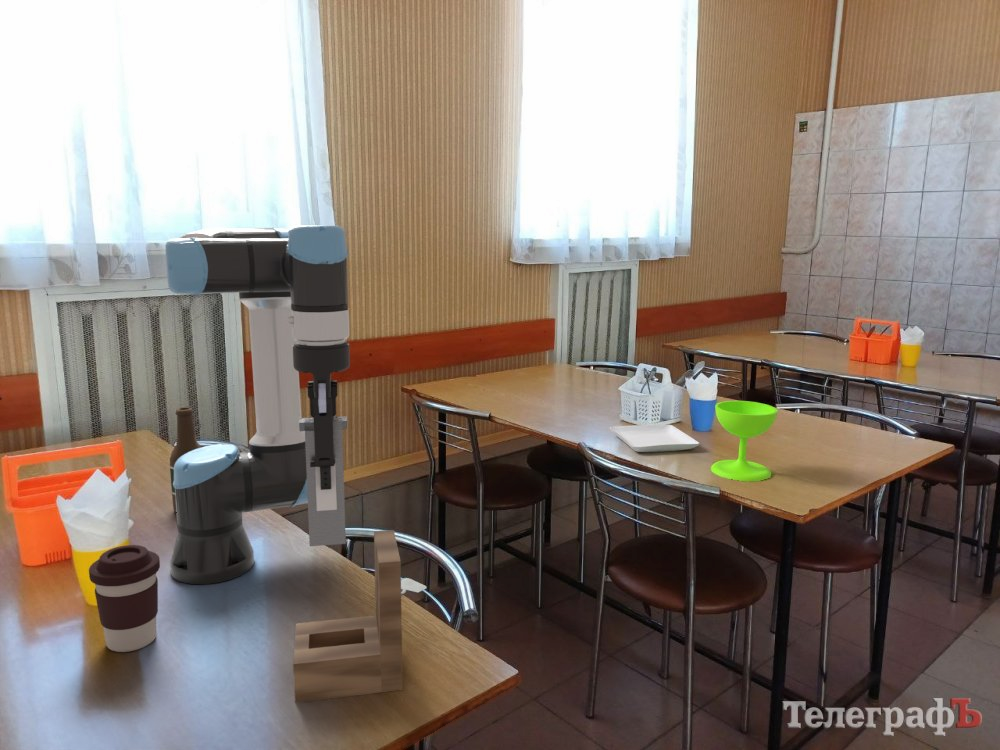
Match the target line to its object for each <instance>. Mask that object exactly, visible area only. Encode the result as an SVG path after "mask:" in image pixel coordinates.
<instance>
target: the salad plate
mask: <svg viewBox="0 0 1000 750" xmlns="http://www.w3.org/2000/svg"><path fill="white" fill-rule="evenodd" d="M609 429H610V431H611V432H612V433H613V434H614V436H616V437H618V438H619V439H620V440H621V441H622V442H623V443H625V444H627V446H629V447H630V448H631V449H632V450H633V451H635V452H637V453H658V452H659V453H660V452H671V451H672V452H676V451H685V450H686V451H687V450H691V449H694V448H696V447H698V446H699V445H700V442H699V441H697V440H696V439H694V438H693V437H692V436H690V435H688V434H687V433H685V432H683V431H682V430H681V429H679V428H677V427H675V426H674V425H672V424H639V425H636V424H635V425H621V426H619V425H618V426H616V425H615V426H609Z"/></svg>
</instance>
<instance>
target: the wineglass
mask: <svg viewBox="0 0 1000 750" xmlns="http://www.w3.org/2000/svg"><path fill="white" fill-rule="evenodd" d="M714 408H715V415H716V418H717V421H718V422H719V423H720V425H721V427H723V429H724V430H725V431H727V432H728V434H731V435H733V436H736V437H739V445H738V458H737V459H722V460H719V461H716V462H714V463H713V464H712V465H711V466H710V471H711V472H712V473H713V474H714V475H716V476H719V477H721V478H723V479H728V480H731V479H733V481H737V480H739V482H749V481H754V482H761V481H760V480H763V481H765V480H764V479H767V478H769V477H770V476H771V474H772V471H771V470H770V469H769V467H766V466H765V465H763V464H761V463H757V462H755V461H754V462H753V461H750V460H747V459H746V458H747V445H748V438H755V437H759V436H760V435H762V434H765V433H766V432H767V431H768V430H769V429H770V428H771V427H772V426H773V424H774V423H775V421H776V419H777V417H778V416H777V415H778V409H777V407H775V406H772V405H770V404H765V403H761V402H757V401H749V400H748V401H747V400H726V401H725V400H724V401H721V402H717V403H716V404H715V407H714ZM771 477H772V476H771ZM771 477H770V478H771ZM770 478H769V479H770ZM767 480H768V479H767Z"/></svg>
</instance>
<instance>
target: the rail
mask: <svg viewBox="0 0 1000 750" xmlns="http://www.w3.org/2000/svg"><path fill="white" fill-rule="evenodd" d="M299 430H300V431H305V447H306V471H307V496H308V503H307V514H308V515H307V518H308V520H307V521H308V539H309V542H308V543H309V547H319V546H320V547H321V546H332V545H346V544H347V541H346V540H347V539H346V538H347V536H346V508H345V507H346V505H345V503H346V502H345V477H344V475H345V474H344V473H345V472H344V471H345V470H344V444H343V443H344V442H343V430H348V416H347V415H346V416H344V415H343V416H334V417H333V444H334V459H335V470H336V500H337V510H324V511H317V501H316V476H315V467H310V462H314V460H315V441H314V418H313V417H301V418H300V421H299Z"/></svg>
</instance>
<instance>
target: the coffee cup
mask: <svg viewBox="0 0 1000 750" xmlns="http://www.w3.org/2000/svg"><path fill="white" fill-rule="evenodd" d="M160 566H161V562H160V556H159V555H158V554H157V553H156V552H154V551H151V550H149V549H147V547H145V546H142V545H138V544H127V545H121V546H117V547H114V548H113V547H112V548H111V549H108V550H106V551H105V552H103V553H102V554H100V556H99V558H98V559H97V560H96V561H94V562H93V563H92V564H91V565H90V566H89V568H88V577H89V580H90V581H91V582H90V583H92V584H94V586H95V588H94V595H95V600H96V604H97V610H98V617H99V621H100V625H101V626H102V629H103V634H104V640H105V645H106V647H107V649H109V650H111V651H112V652H117V653H128V652H129V653H130V652H133V651H137V650H140V649H143V648H145V647H146V646H148V645H150V644H151V643H152V642H154V640H155V638H156V637H157V615H158V611H159V598H158V597H159V593H158V592H159V590H158V589H159V587H158V586H159V584H158V576H157V572H158V571H159V569H160Z"/></svg>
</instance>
